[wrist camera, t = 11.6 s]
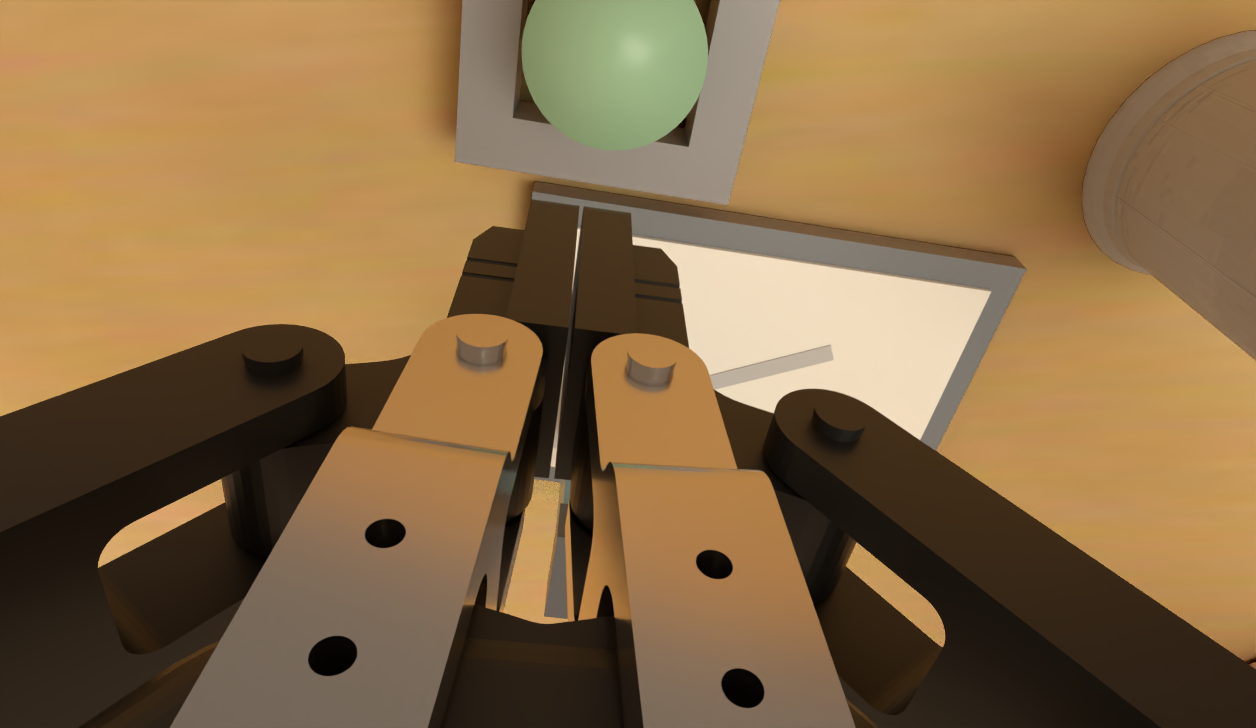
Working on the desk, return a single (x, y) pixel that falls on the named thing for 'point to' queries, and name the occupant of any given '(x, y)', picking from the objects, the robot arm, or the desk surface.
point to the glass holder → (1186, 183)
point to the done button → (614, 67)
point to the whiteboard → (821, 307)
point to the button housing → (669, 166)
